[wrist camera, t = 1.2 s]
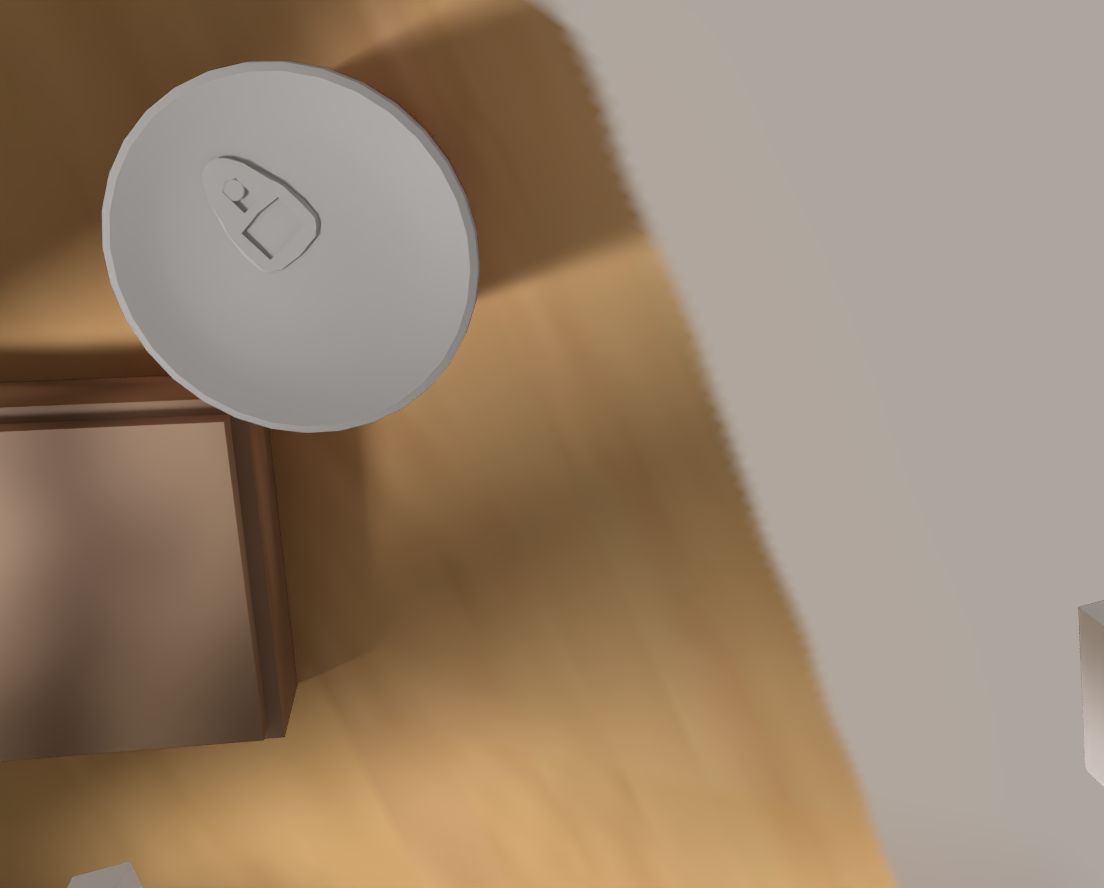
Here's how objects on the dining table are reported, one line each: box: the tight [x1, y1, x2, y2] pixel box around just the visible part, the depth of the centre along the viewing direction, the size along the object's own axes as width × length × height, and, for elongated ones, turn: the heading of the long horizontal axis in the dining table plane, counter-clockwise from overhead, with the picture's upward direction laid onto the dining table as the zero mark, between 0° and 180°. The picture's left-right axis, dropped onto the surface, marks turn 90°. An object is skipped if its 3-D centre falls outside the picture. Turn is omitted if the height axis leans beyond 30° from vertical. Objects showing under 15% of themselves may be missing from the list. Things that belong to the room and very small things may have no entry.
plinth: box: [0, 376, 297, 762], centre depth 31 cm, size 12×12×4 cm
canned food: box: [102, 60, 480, 433], centre depth 25 cm, size 8×8×11 cm
